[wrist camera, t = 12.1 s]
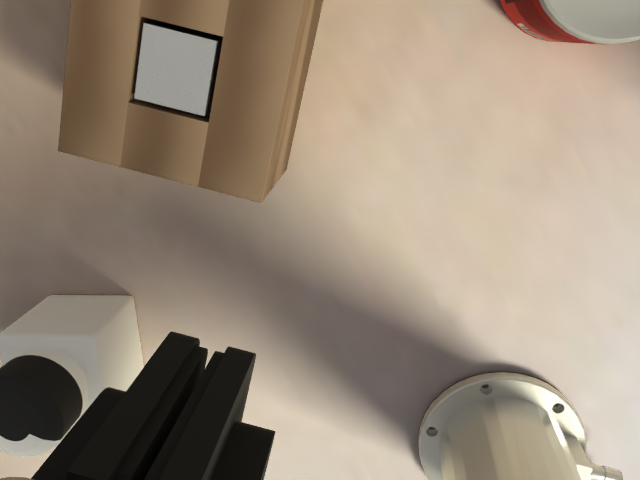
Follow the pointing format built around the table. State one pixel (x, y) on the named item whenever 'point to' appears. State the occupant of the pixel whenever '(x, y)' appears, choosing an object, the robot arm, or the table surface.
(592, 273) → the table surface
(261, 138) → the walnut block
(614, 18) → the canned food
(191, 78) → the pin
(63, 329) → the medicine bottle
